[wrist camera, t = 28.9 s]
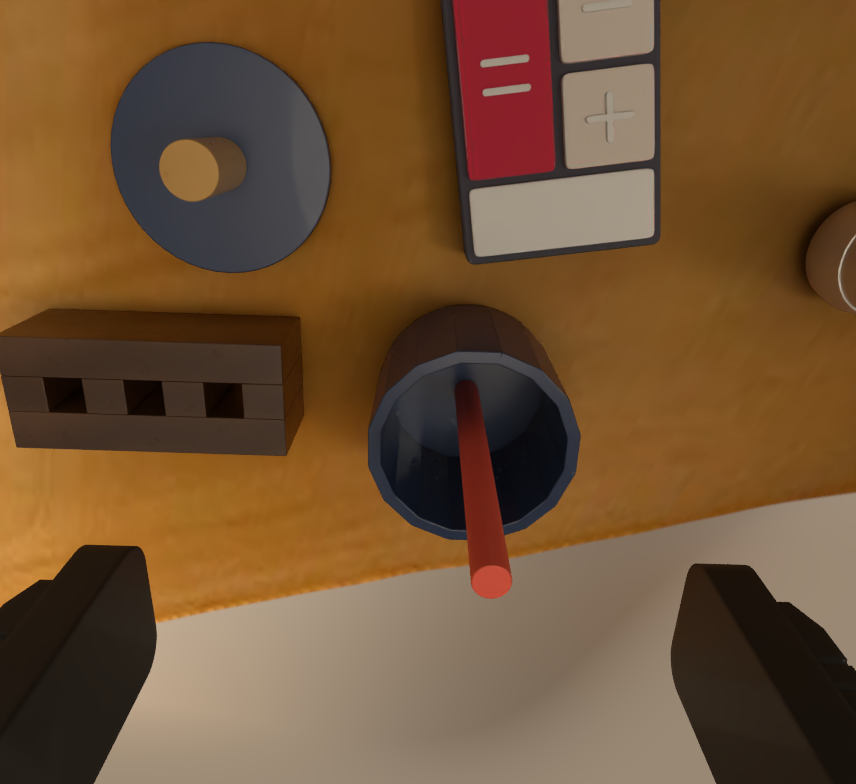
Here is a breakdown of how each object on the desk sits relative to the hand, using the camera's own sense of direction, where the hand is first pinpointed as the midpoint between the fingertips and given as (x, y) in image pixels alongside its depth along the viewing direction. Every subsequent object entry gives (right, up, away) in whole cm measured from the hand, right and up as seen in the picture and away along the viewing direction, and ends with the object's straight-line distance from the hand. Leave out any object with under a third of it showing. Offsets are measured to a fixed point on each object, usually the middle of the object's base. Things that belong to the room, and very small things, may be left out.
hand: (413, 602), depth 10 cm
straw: (+3, +3, +35) cm, 35 cm away
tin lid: (-12, +16, +29) cm, 35 cm away
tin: (+3, +3, +35) cm, 35 cm away
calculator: (+7, +19, +29) cm, 35 cm away
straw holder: (-16, +5, +34) cm, 38 cm away
